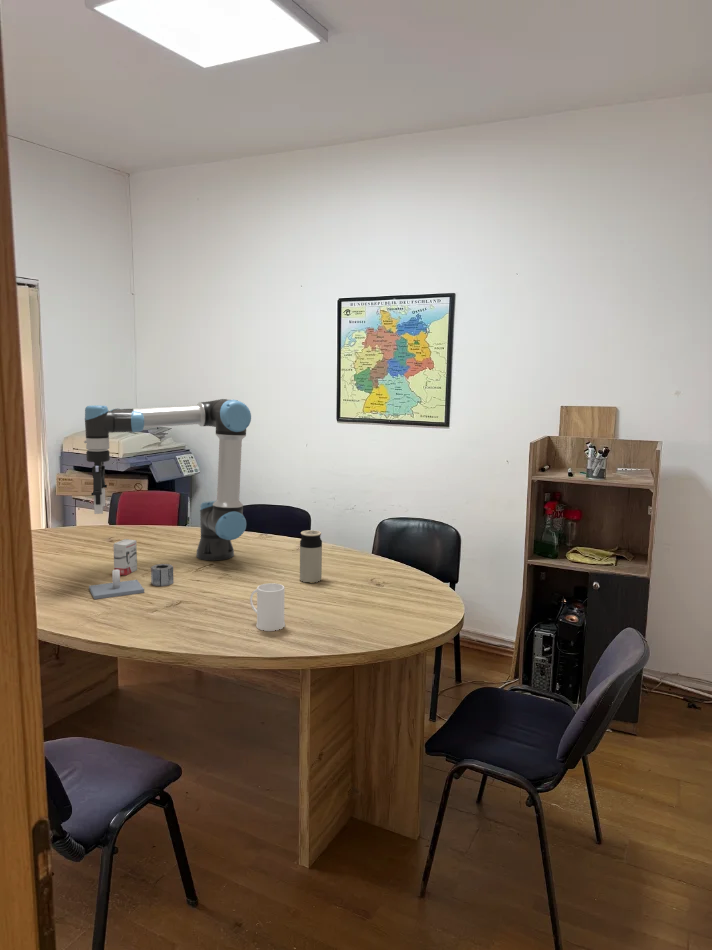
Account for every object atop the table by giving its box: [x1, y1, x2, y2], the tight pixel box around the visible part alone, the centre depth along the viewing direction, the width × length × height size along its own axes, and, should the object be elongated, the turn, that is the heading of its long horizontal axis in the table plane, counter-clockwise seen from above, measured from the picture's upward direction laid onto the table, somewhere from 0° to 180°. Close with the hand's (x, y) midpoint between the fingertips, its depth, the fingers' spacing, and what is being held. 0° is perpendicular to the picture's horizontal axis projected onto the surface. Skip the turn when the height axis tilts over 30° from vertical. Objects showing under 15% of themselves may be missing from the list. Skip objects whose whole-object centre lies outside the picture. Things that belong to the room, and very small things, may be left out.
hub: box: [150, 563, 175, 587], centre depth 235 cm, size 7×7×6 cm
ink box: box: [113, 538, 138, 577], centre depth 246 cm, size 9×5×12 cm, turn 168°
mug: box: [249, 582, 286, 632], centre depth 197 cm, size 12×8×12 cm
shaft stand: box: [88, 569, 145, 600], centre depth 225 cm, size 16×12×7 cm
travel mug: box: [299, 529, 323, 583], centre depth 241 cm, size 8×8×18 cm
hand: (100, 509), depth 232 cm, fingers open, 13 cm apart
